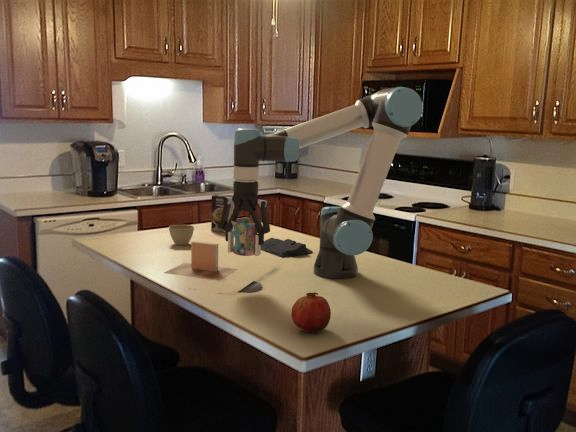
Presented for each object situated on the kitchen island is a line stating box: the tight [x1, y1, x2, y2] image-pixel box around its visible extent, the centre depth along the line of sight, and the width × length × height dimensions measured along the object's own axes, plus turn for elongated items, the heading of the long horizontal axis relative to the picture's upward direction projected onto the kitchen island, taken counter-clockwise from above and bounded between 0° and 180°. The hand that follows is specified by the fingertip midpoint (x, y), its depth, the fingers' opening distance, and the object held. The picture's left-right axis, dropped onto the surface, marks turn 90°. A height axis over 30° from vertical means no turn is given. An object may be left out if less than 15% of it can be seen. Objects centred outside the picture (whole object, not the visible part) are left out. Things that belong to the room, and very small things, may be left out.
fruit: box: [290, 292, 332, 333], centre depth 149 cm, size 11×10×10 cm
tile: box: [190, 240, 219, 271], centre depth 197 cm, size 9×2×9 cm, turn 71°
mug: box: [231, 217, 262, 257], centre depth 181 cm, size 12×9×11 cm
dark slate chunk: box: [261, 237, 313, 259], centre depth 233 cm, size 15×22×5 cm
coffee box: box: [210, 193, 235, 232], centre depth 266 cm, size 9×6×16 cm
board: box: [163, 262, 238, 281], centre depth 196 cm, size 20×14×2 cm
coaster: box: [237, 280, 263, 293], centre depth 184 cm, size 11×11×1 cm
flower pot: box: [168, 224, 195, 246], centre depth 238 cm, size 10×10×7 cm
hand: (244, 253), depth 182 cm, fingers closed on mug, 8 cm apart
